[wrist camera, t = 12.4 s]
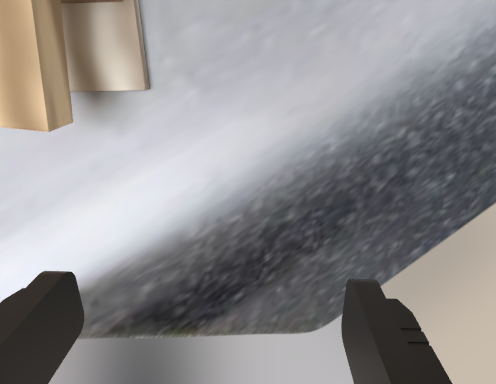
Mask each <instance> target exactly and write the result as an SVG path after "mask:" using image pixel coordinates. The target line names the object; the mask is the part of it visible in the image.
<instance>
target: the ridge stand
mask: <svg viewBox="0 0 496 384" xmlns="http://www.w3.org/2000/svg"><path fill="white" fill-rule="evenodd" d="M60 1H61V10H62V20H63V30H64V39H65V49H66V59H67V68H68V78H69V87H70V91H119V90H147V89H149V81H148V73H147V65H146V57H145V50H144V42H143V34H142V26H141V18H140V11H139V3H138V0H60Z"/></svg>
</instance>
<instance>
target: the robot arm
mask: <svg viewBox="0 0 496 384" xmlns="http://www.w3.org/2000/svg"><path fill="white" fill-rule="evenodd" d="M83 323H84V310H83V306H82V302H81V298H80V294H79V289H78V285H77V281H76V277H75V275H74V274H73V273H72V272H64V271H44V272H42V273H40V274H39V275H38V276H37V277H36V278H35V279H34V280H33V281H32V282H31V283H30V284H29V285H28V286H27V287H26V288H22V289H21V290H19V291H17V292H16V293H14V294H12V295H11V296H9V297H8V298H6V299H4V300H3V301H2V302H1V303H0V384H48V383H49V381H50V380H51V378H52V377H53V375H54V374H55V372H56V370H57V369H58V367H59V366H60V364H61V363H62V361H63V359H64V358H65V356H66V355H67V353H68V352H69V350H70V349H71V347H72V346H73V344H74V343H75V341H76V339H77V338H78V336H79V335H80V333H81V330H82V328H83ZM342 338H343V343H344V348H345V352H346V355H347V359H348V363H349V366H350V370H351V374H352V377H353V381H354V384H452V382H451V381H450V379H449V377H448V375H447V373H446V372H445V370H444V368H443V367H442V365H441V363H440V361H439V359H438V358H437V356H436V354H435V352H434V350H433V349H432V347H431V346H429V342H428V340H427V338H426V336H425V334H424V333H423V332H422V331H421V328H420V326H419V324H418V322H417V320H416V318H415V317H414V315H413V313H412V312H411V311H410V310H409V309H408V308H407V307H405V306H404V305H403V304H402V303H401V302H400V301H399V300H397V299H386V297H385V295H384V294H383V292H382V289H381V287H380V285H379V283H378V282H377V280H366V279H349V280H348V281H347V285H346V293H345V300H344V307H343V315H342Z"/></svg>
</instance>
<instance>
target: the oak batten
mask: <svg viewBox="0 0 496 384" xmlns="http://www.w3.org/2000/svg"><path fill="white" fill-rule="evenodd" d="M72 122H73V116H72V107H71V97H70V87H69V78H68V68H67V59H66V49H65V39H64V30H63V20H62V10H61V1H60V0H0V127H5V128H15V129H25V130H35V131H45V132H50V131H52V130H55V129H57V128H60V127H62V126H65V125H67V124H70V123H72Z"/></svg>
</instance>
